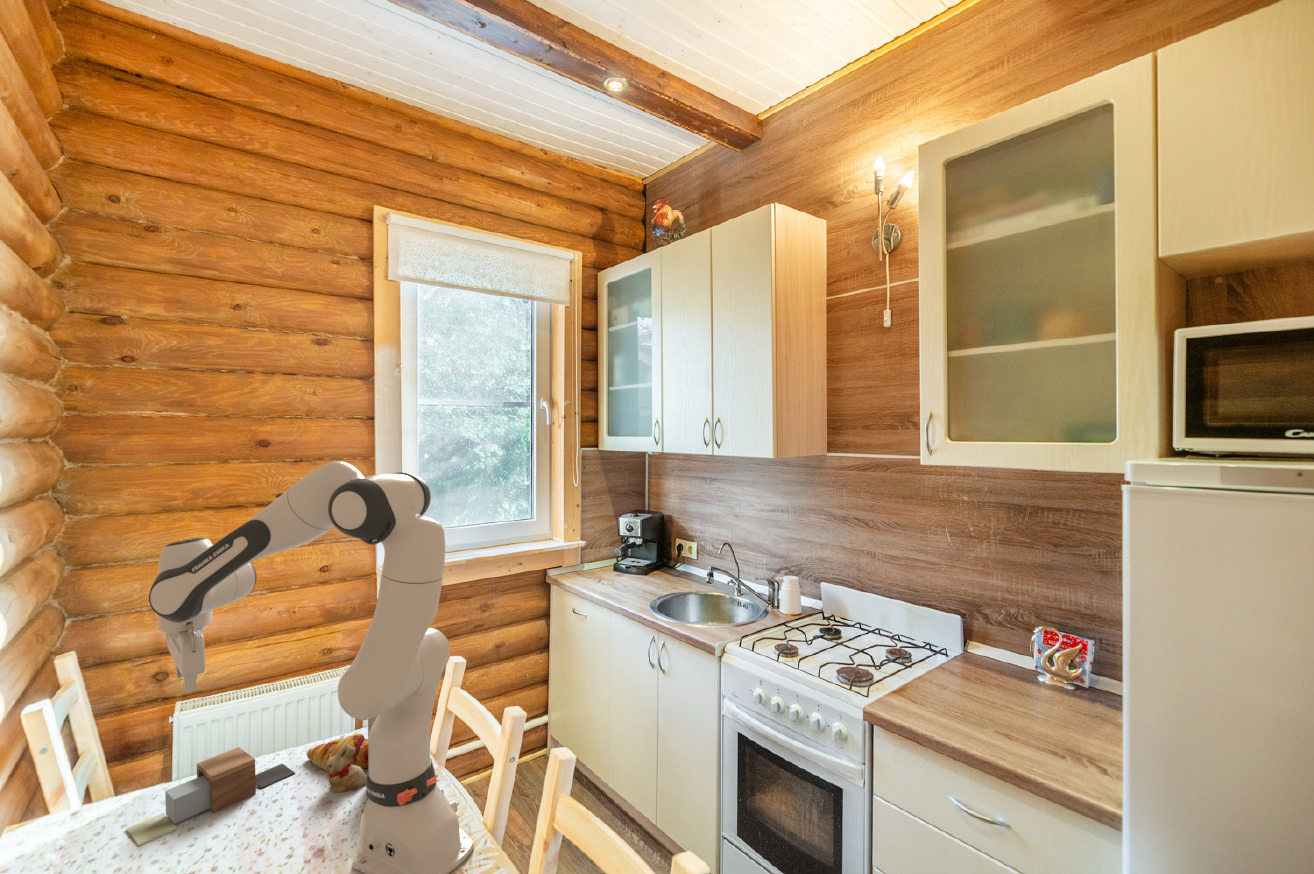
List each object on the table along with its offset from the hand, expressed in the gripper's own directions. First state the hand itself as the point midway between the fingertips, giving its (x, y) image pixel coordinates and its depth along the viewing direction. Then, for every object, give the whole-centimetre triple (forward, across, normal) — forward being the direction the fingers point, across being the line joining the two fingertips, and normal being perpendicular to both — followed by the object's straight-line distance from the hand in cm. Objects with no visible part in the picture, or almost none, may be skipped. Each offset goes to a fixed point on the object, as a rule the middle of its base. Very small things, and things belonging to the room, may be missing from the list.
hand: (185, 683), depth 124 cm
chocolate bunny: (+27, -13, -27) cm, 41 cm away
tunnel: (+28, +2, -6) cm, 29 cm away
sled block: (+28, +1, -2) cm, 28 cm away
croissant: (+28, -3, -31) cm, 42 cm away
